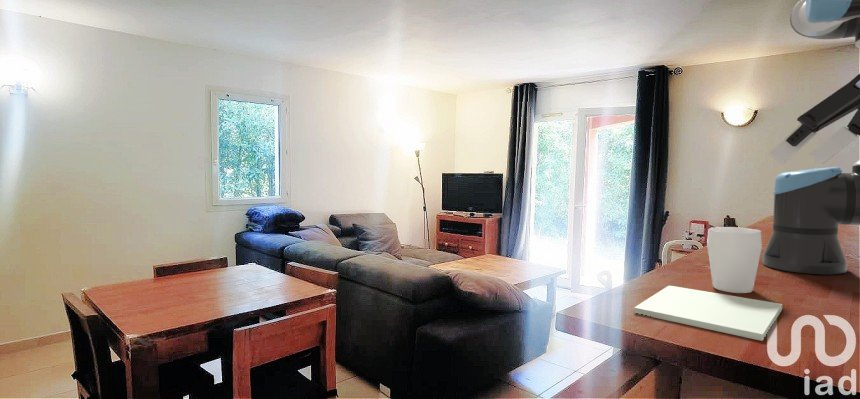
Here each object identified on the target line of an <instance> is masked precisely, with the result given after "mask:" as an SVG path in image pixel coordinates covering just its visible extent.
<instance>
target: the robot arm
mask: <svg viewBox="0 0 860 399" xmlns="http://www.w3.org/2000/svg"><path fill="white" fill-rule="evenodd" d="M789 23H790V26H791V28H792V30H793V31H794V32H795V33H796V34H798V35H799V36H802V37H805V38H808V39H816V40H839V39H847V38H855V39H854V40H855V41H854V45H855V47H856V48H858V49H860V0H799V1H798V2H797V3H796V4H795V5H794V6H793V8H792V10H791V13H790V15H789ZM854 111H856V112H855V113H854V115H853V116H852V118H851V119H850V121H849V122H848V124H847V125H846V126H841V127H840V128H839V129H838V130H836V131H835V132H834V133H833V134H832V135H831V136H830V137H828V138H827V139H826V140H825V141H824V142H823V143H820V145H819V146H817V148H815V149H814V150H813V151H812V152H811V153H809V156H811V157H812V158H814V160H817V162H819V163H820V164H821V165H826V163H828V162H829V161H830V160H832V159H833V158H834V157H835V156H836V155H838V154H839V153H840V152H842V151H843V150H844V149H845V148H846V147H848V146H849V145H851V143H853V142H854V141H855V140H857V139H858V138H859V137H860V73H859V74H857V75H856V76H855V77H854V78H852V79H851V80H850V81H849V82H848V83H847V84H844V86H841V87H840V88H839V89H838V90H836V91H835V92H833V93H832V94H830V95H829V96H827V97H826V98H825V99H823V100H822V101H820V102H818V103H817V104H816V105H814V106H813V107H811V108H810V109H808V110H807V111H806V112H803V114H801V115H799V116H798V117H797V119H796V121H798V122H799V125H797V127H796V128H795V129H794V130H793V131H791V132H790V134H788V135H787V136H785V138H784V139H783V140H782V141H781V142H780V143H778V144H777V145H776V146H775V147H774V148H773V149H772V150H770V152H769V153H768V155H770V156H771V157H772V158H774V160H776V161H777V163H779V164H780V165H785V164H786V163H788V161H790V160H791V158H793V157H794V156H795V155H797V154H798V153H799V152H800V151H801V150H802V149H803V148H804V147H806V146H807V145H808V144H809V143H810V142H812V140H814V139H815V138H816V137H817V136H819V133H818V132H819V131H821V130H823V129H824V128H826V127H828V126H830V125H831V124H834V123H835V122H837V121H838V120H839V121H840V119H843V118H844V117H846V116H847V115H850V114H851V113H853V112H854ZM851 168H852V171H851V172H843V170H842V169H841V167H839V166H828V167H819V168H818V167H817V168H816V167H815V168H809V169H800V170H799V169H798V170H792V171H785V172H782V173H779V174H778V175H777V176H775V180H774V189H773V191H772V194H773V195H774V196H773V197H774V198H773V213H772V214H773V216H772V217H773V218H772V233H771V236H770V238H769V240H768V242H767V245H766V247H765V249H764V251H763V254H762V264H763V265H764V266H766V267H769V268H772V269H775V270H779V271H780V270H781V271H787V272H791V273H799V274H809V275H841V274H845V273H847V270H848V261H847V259H846V258H847V257H846V256H845V253H844V250H843V247H842V244H841V243H840V240H839V236H838V235H839V232H838V231H839V225H846V226H847V225H848V226H849V225H850V226H860V159H858V160H857V161H856V162H854V163H853V164H852V167H851Z"/></svg>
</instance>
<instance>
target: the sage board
mask: <svg viewBox="0 0 860 399" xmlns="http://www.w3.org/2000/svg"><path fill="white" fill-rule="evenodd" d="M782 310H783V304H782V303H777V302H772V301H766V300H761V299H753V298H748V297H742V296H735V295H730V294H723V293H717V292H710V291H705V290H700V289H693V288H687V287H680V286H674V285H667V286H665V287H664V288H663V289H661V290H660V291H658V292H656V293H655V294H653V295H652V296H650V297H649V298H646V299H645V300H644V301H642V302H640V303H639V304H638V305H635V306H634V307H633V312H634V313H633V314H636V313H638V314H637V315H641V314H643V315H642V316H645V315H647V316H646V317H650V316H651V317H650V318H655V319H660V320H664V321H668V322H673V323H679V324H683V325H687V326H692V327H696V328H701V329H706V330H711V331H715V332H720V333H725V334H727V335H728V334H729V335H734V336H738V337H742V338H747V339H752V340H756V341H761V342H763V341H764V339H765V338H766V336H767V335H768V333H769V331H770V330H771V328H772V327H771V326H773V325H774V323H775V322H776V320H777V319H778V317H779V316H780V313H781V312H782ZM774 321H775V322H774ZM772 324H773V325H772ZM770 327H771V328H770ZM769 329H770V330H769ZM768 330H769V331H768ZM767 332H768V333H767ZM766 334H767V335H766ZM764 337H765V338H764Z"/></svg>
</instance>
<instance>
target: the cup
mask: <svg viewBox="0 0 860 399" xmlns="http://www.w3.org/2000/svg"><path fill="white" fill-rule="evenodd" d="M706 240H707V241H706V246H707V254H708V259H709V260H708V261H709V267H710V276H711V284H712V287H713V289H716V290H718V291H721V292H726V293H731V294H748V293H752V292H753V291H754V287H755V282H756V277H757V273H758V267H759V263H760V257H761V254H762V248H763V245H762V230H760V229H755V228H747V227H739V226H738V227H737V226H715V227H708V230H707V239H706Z"/></svg>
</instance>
